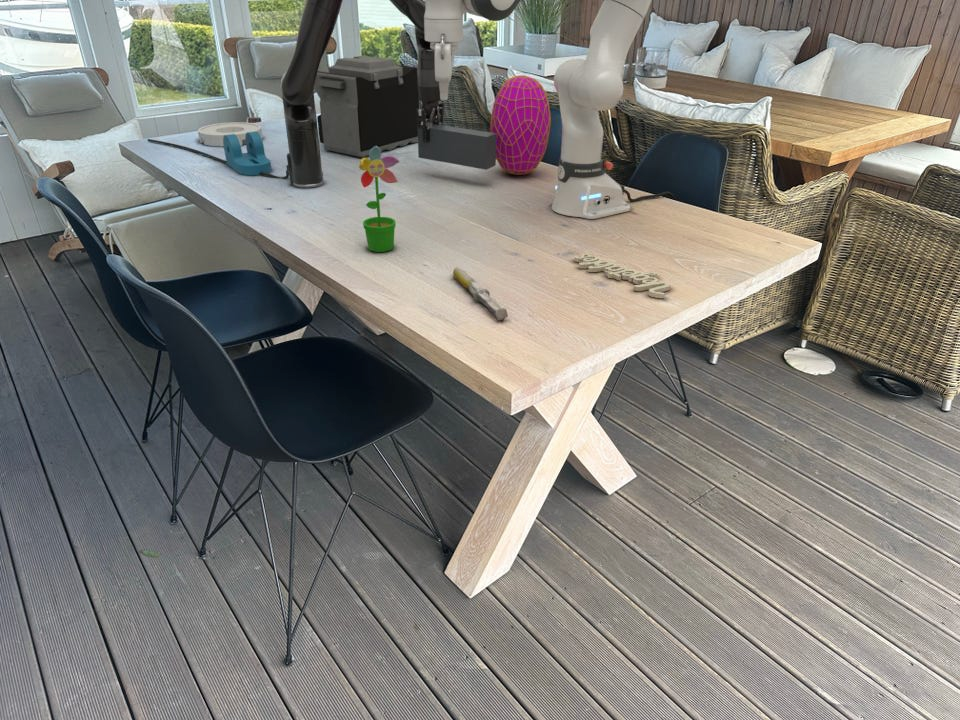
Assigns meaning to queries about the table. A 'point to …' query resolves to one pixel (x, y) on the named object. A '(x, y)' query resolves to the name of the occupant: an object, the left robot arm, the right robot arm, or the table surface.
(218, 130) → the ashtray
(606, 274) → the decorative sign
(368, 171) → the potted flower
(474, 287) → the syringe
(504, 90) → the decorative egg
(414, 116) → the cooler
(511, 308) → the table surface
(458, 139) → the box
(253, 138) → the camera mount
